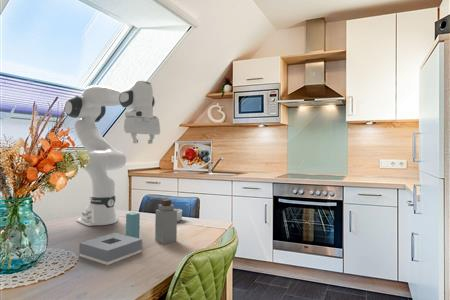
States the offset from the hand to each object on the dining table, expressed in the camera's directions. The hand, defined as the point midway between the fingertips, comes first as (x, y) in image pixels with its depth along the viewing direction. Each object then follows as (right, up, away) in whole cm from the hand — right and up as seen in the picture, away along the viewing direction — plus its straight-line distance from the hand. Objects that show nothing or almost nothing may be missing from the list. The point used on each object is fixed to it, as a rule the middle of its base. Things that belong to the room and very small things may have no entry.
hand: (143, 143), depth 147 cm
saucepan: (+9, -43, +30) cm, 53 cm away
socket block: (-4, -43, -29) cm, 52 cm away
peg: (-1, -43, -12) cm, 45 cm away
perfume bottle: (+13, -43, -11) cm, 47 cm away
